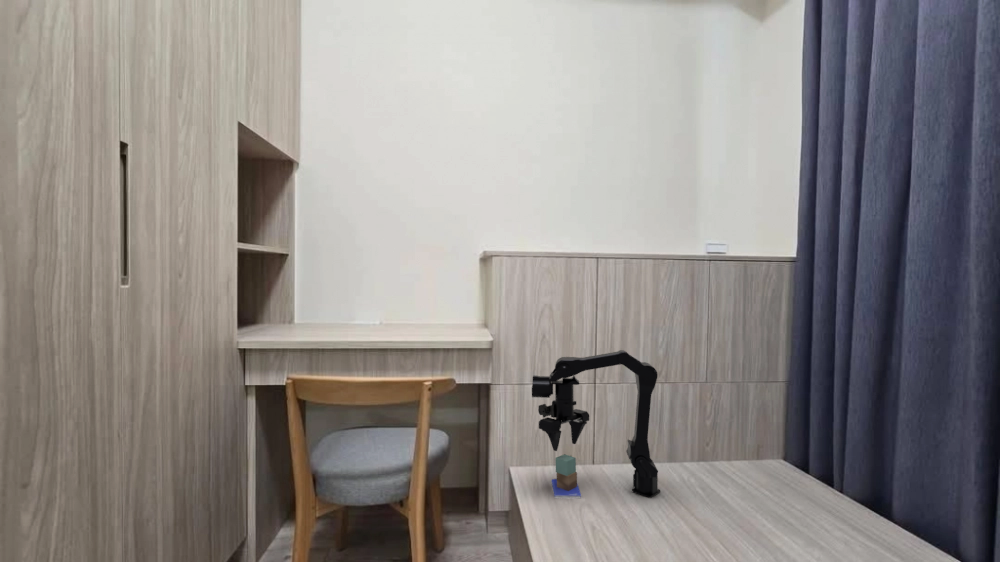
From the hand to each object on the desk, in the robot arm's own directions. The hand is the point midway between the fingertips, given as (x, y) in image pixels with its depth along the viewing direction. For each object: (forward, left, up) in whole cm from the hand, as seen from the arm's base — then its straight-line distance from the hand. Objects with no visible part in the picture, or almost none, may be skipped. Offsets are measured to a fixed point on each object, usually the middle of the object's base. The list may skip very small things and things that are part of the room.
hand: (564, 447), depth 152 cm
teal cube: (0, 0, -8) cm, 8 cm away
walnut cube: (-1, 0, -12) cm, 12 cm away
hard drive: (-1, 0, -14) cm, 14 cm away
